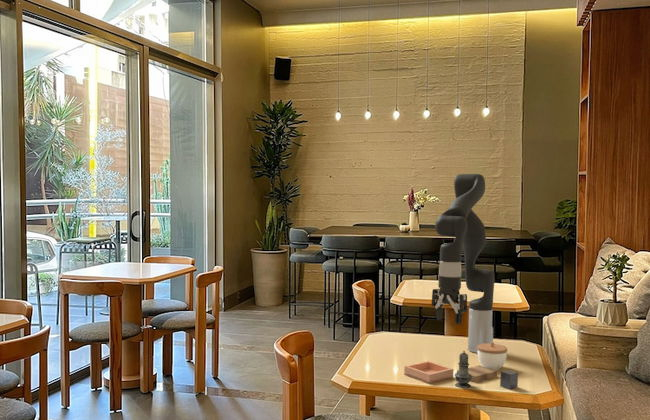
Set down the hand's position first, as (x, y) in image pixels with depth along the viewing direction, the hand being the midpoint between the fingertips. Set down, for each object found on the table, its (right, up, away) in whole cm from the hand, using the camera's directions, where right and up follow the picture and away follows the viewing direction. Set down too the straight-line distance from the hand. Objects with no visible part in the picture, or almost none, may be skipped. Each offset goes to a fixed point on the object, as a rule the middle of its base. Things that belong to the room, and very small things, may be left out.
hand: (448, 321), depth 217 cm
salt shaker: (+4, -21, -3) cm, 22 cm away
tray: (-6, -20, +7) cm, 22 cm away
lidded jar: (+20, -20, +19) cm, 34 cm away
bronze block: (+12, -21, +8) cm, 25 cm away
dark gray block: (+20, -21, -3) cm, 29 cm away
